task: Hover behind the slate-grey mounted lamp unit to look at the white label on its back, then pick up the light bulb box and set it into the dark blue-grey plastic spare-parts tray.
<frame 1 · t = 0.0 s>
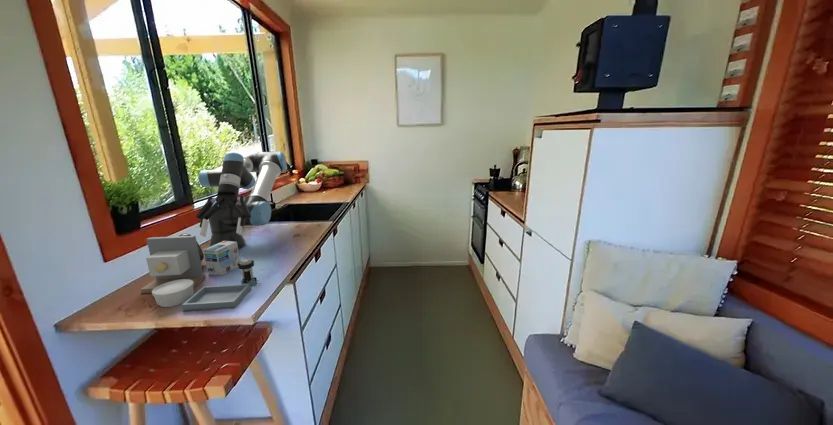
hand: (220, 234, 123), 15 cm above the counter, tool tilted 35°, fingers open, 13 cm apart
ramekin: (176, 301, 105), on the counter
pump dispenser: (191, 269, 129), on the counter
light bulb box: (225, 270, 128), on the counter
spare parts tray: (219, 300, 104), on the counter
push button: (251, 286, 114), on the counter
mounted unit: (174, 285, 115), on the counter
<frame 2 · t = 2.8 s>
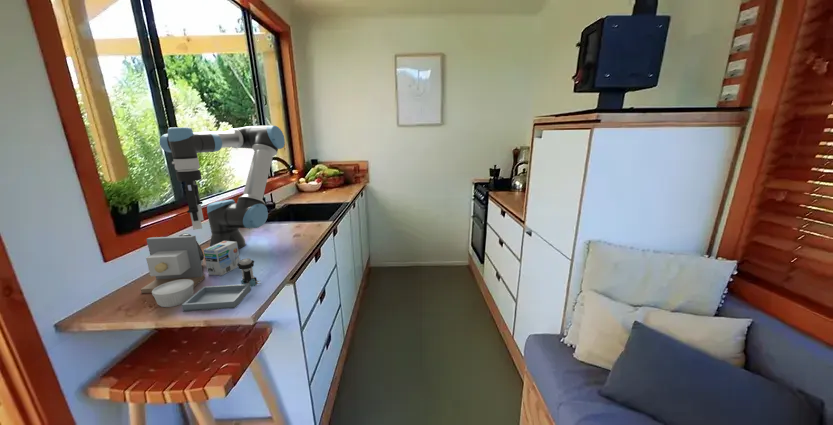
hand: (198, 224, 121), 20 cm above the counter, tool pointing down, fingers open, 13 cm apart
nothing on the counter moved.
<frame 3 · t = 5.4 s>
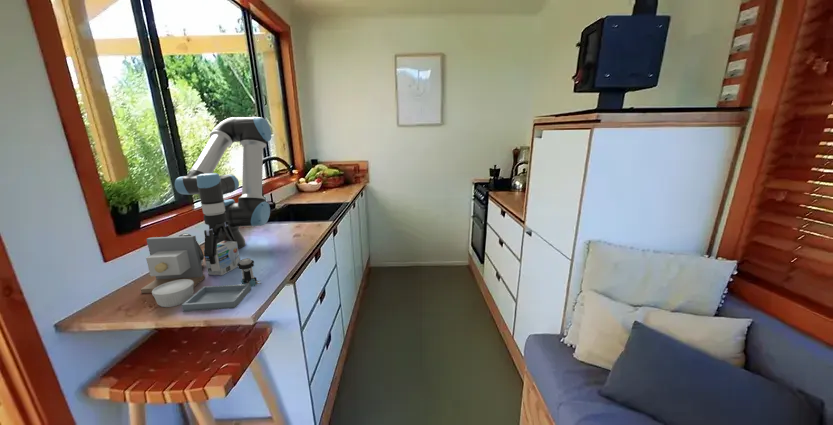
hand: (224, 264, 127), 2 cm above the counter, tool pointing down, fingers closed on light bulb box, 12 cm apart
light bulb box: (225, 270, 128), on the counter, touching gripper
everything else where it was.
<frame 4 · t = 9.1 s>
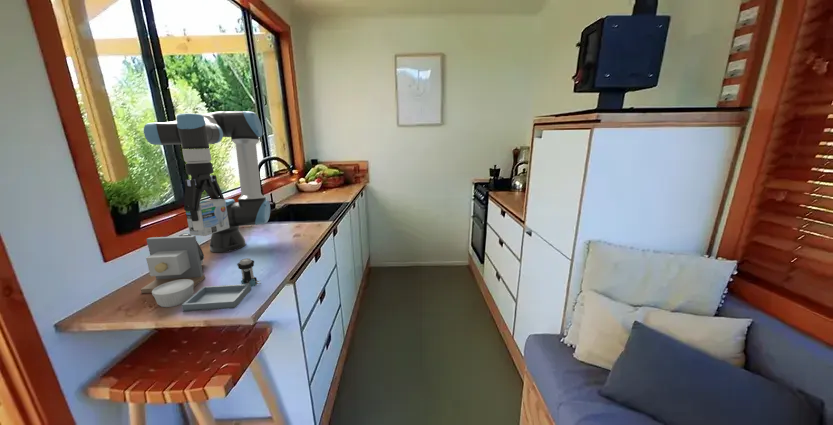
hand: (209, 225, 108), 23 cm above the counter, tool pointing down, fingers closed on light bulb box, 12 cm apart
light bulb box: (210, 232, 109), point 21 cm above the counter, touching gripper
everything else where it was.
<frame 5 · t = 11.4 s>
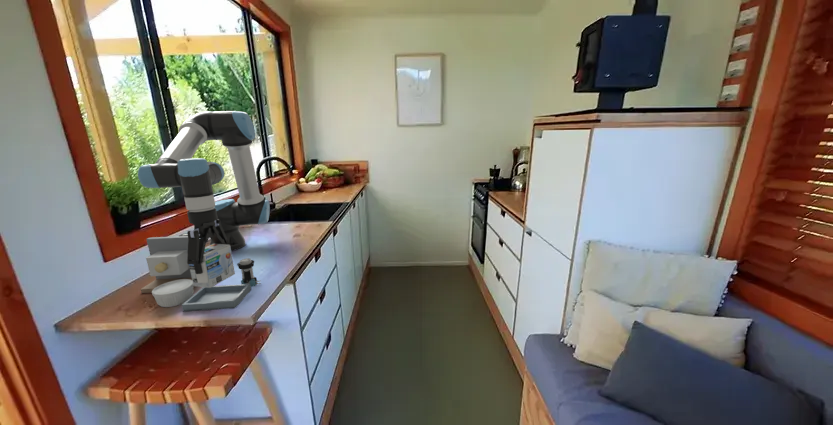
hand: (214, 273, 101), 10 cm above the counter, tool pointing down, fingers closed on light bulb box, 12 cm apart
light bulb box: (215, 280, 102), point 7 cm above the counter, touching gripper
everything else where it was.
when the fingers open (5 cm above the counter, at t = 13.1 s): light bulb box stays where it is, resting on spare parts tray.
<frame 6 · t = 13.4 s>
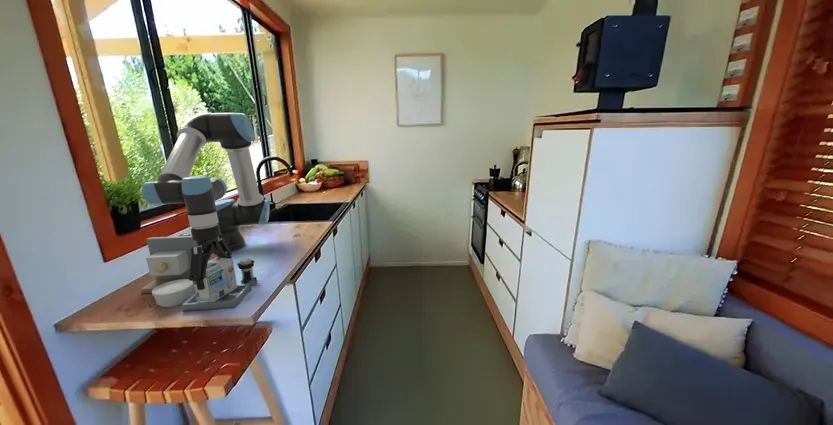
hand: (216, 287, 103), 5 cm above the counter, tool pointing down, fingers open, 13 cm apart
light bulb box: (218, 294, 103), point 2 cm above the counter, touching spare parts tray
everything else where it was.
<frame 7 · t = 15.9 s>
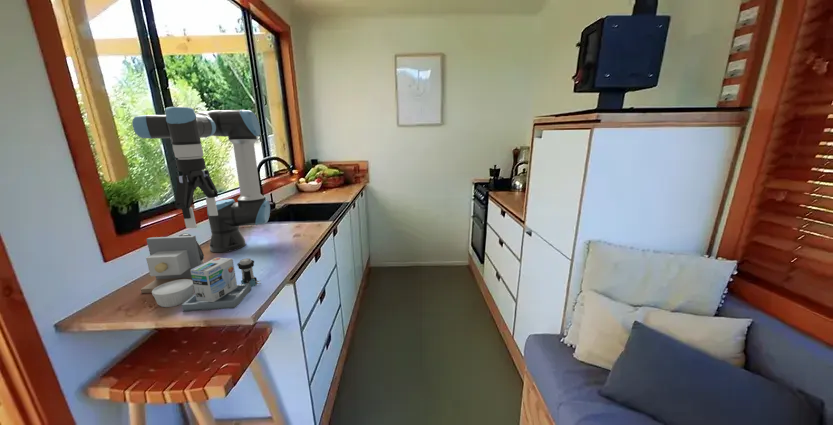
hand: (203, 221, 105), 25 cm above the counter, tool pointing down, fingers open, 13 cm apart
nothing on the counter moved.
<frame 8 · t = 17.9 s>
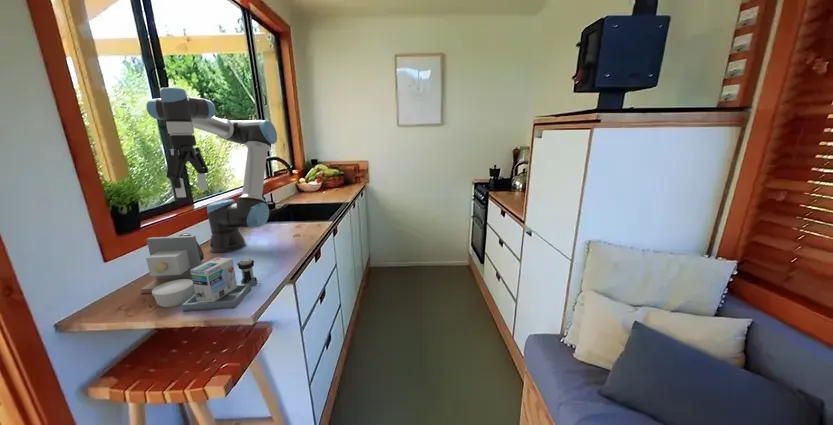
hand: (193, 193, 115), 33 cm above the counter, tool pointing down, fingers open, 13 cm apart
nothing on the counter moved.
at the end: light bulb box 0.0 cm off-centre on the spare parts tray, point 2.2 cm above the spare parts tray's base; light bulb box tilted 0°; the gripper is holding nothing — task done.
